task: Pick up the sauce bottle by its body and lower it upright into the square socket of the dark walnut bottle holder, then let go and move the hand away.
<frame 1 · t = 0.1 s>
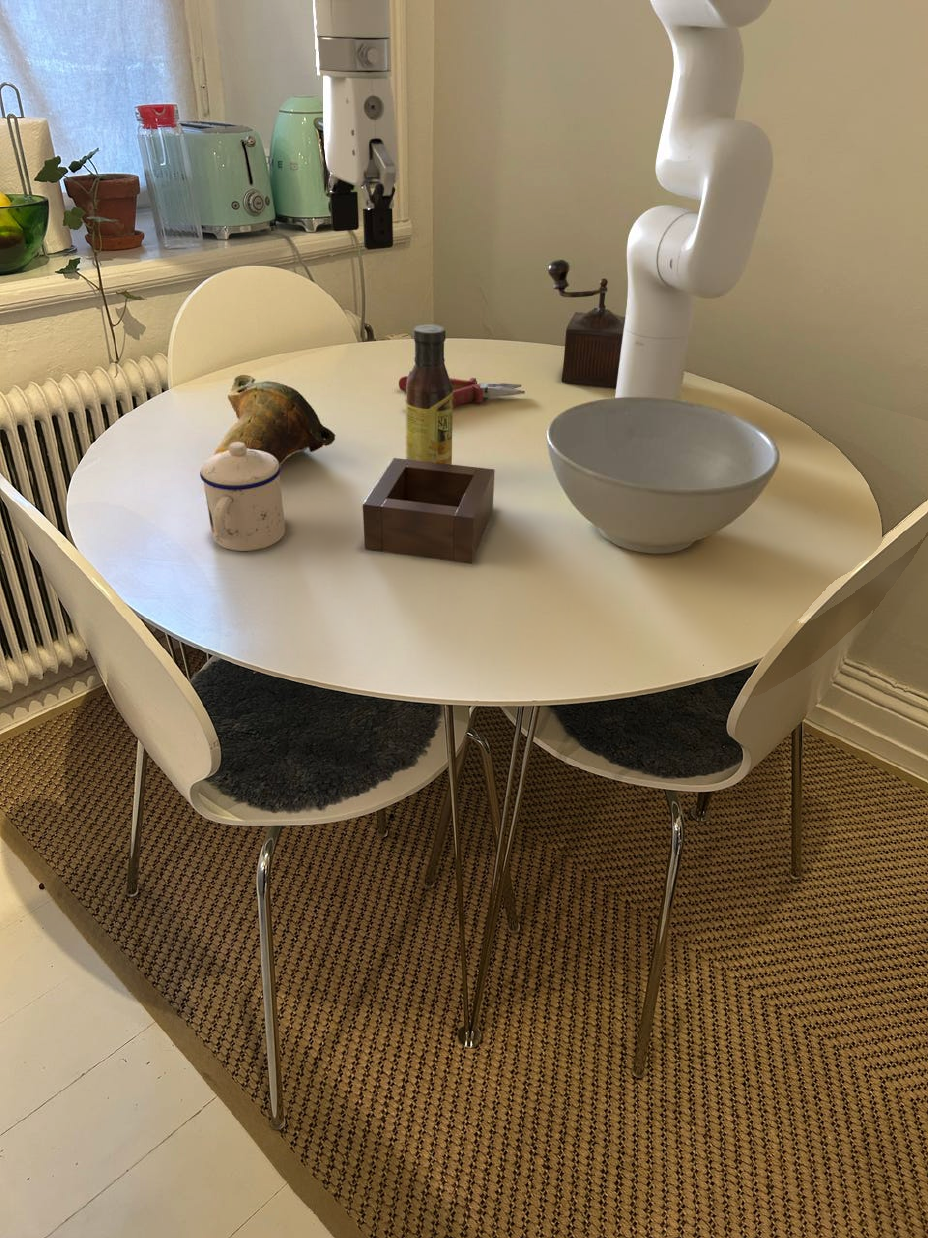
hand: (361, 238, 99), 31 cm above the table, tool pointing down, fingers open, 9 cm apart
holder: (431, 530, 108), on the table
teacup with lid: (245, 541, 105), on the table
sauce bottle: (429, 475, 120), on the table
pliers: (457, 403, 142), on the table
pepper mill: (579, 374, 155), on the table
pot: (269, 460, 123), on the table
decorative bowl: (646, 530, 109), on the table
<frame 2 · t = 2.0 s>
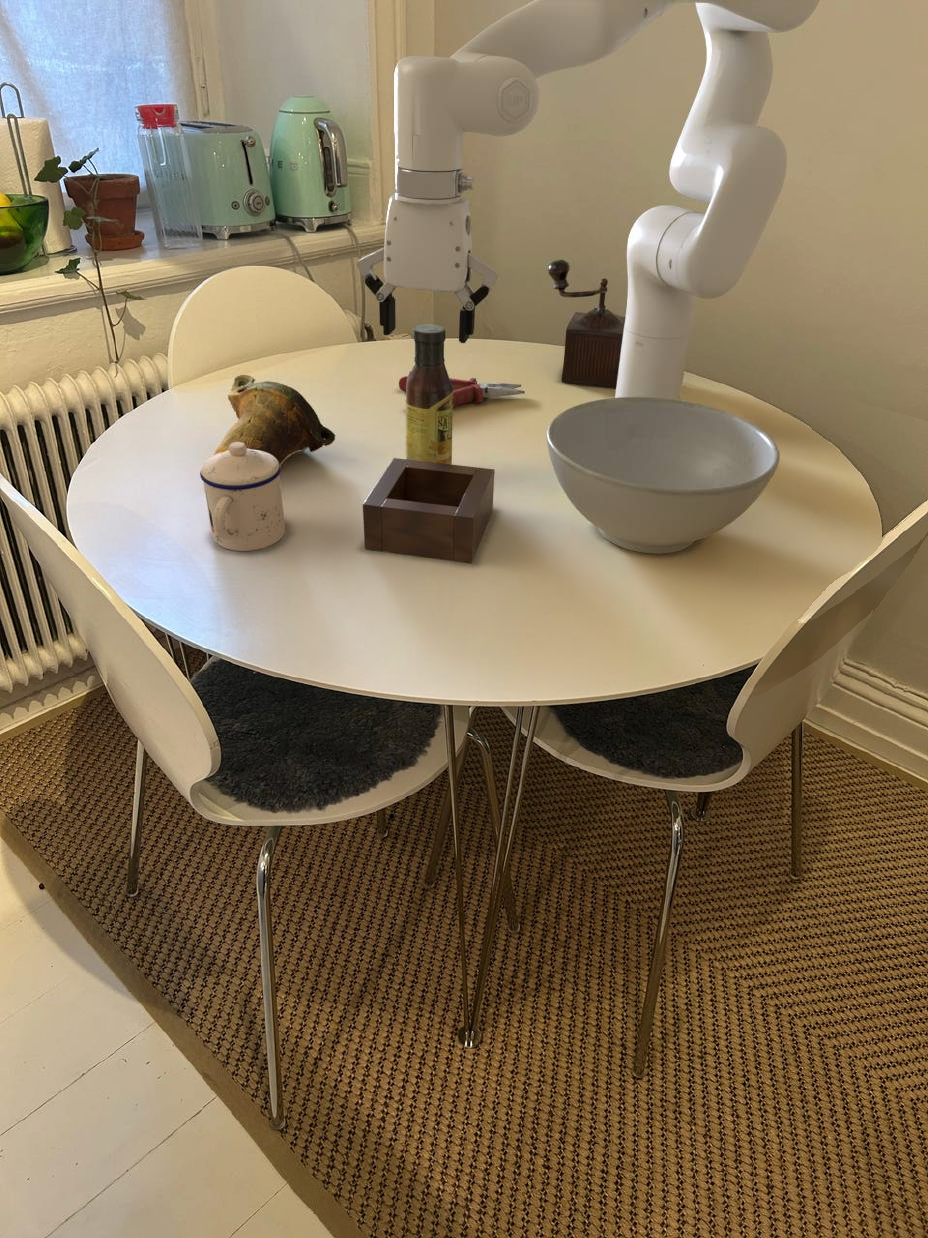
hand: (426, 335, 109), 19 cm above the table, tool pointing down, fingers open, 9 cm apart
nothing on the table moved.
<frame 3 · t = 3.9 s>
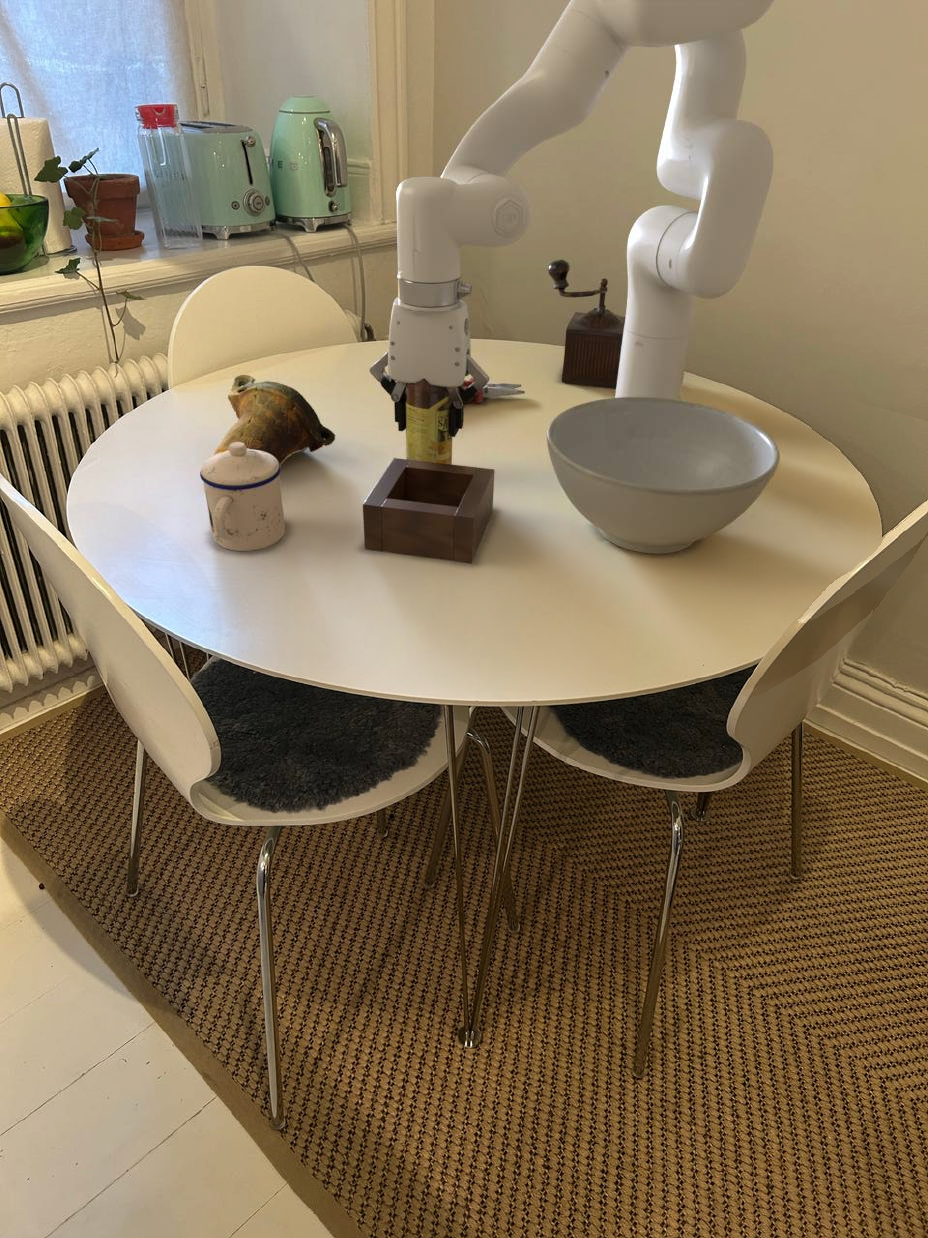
hand: (429, 429, 116), 7 cm above the table, tool pointing down, fingers closed on sauce bottle, 6 cm apart
sauce bottle: (429, 475, 120), on the table, touching gripper
everything else where it was.
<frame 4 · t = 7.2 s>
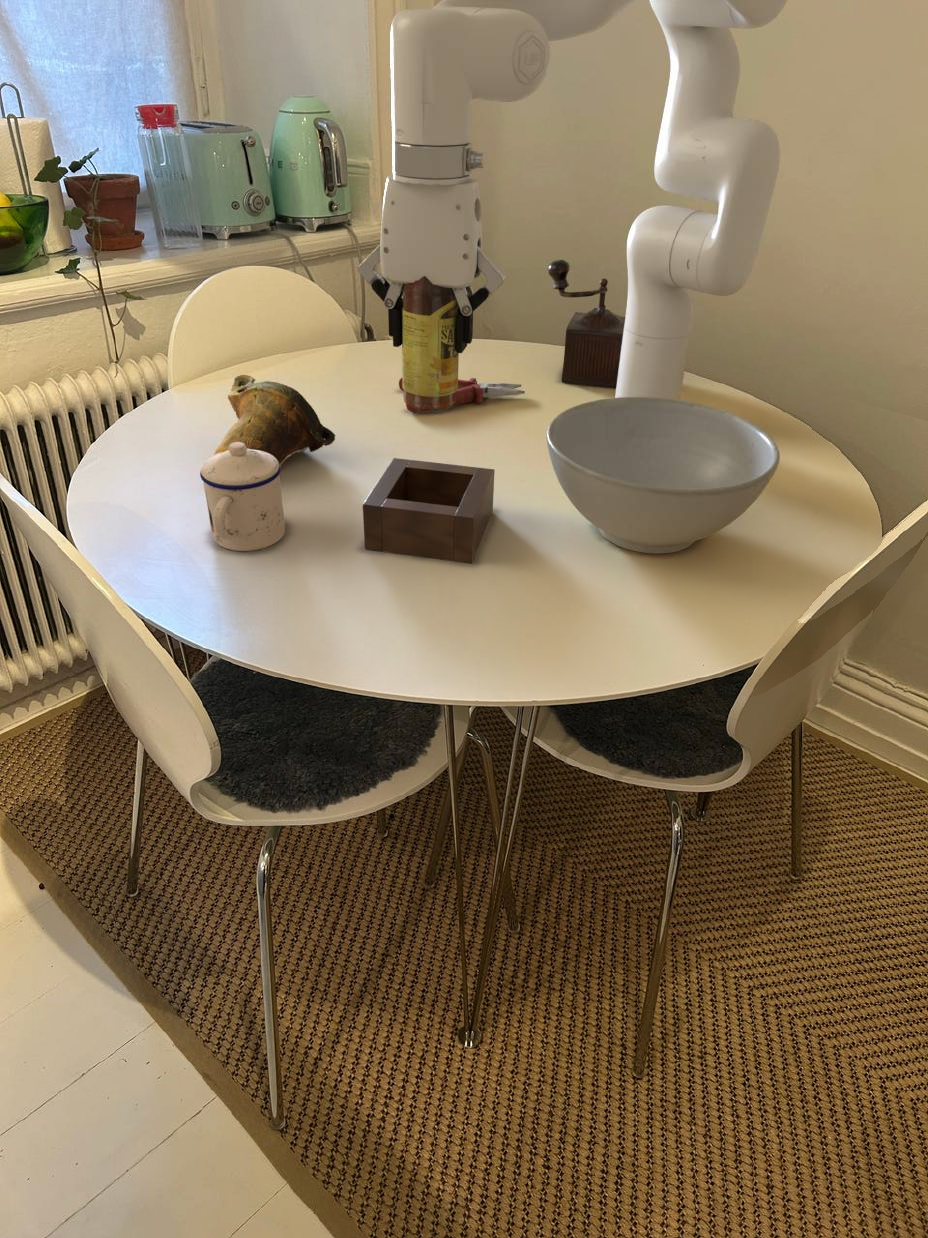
hand: (430, 344, 96), 23 cm above the table, tool pointing down, fingers closed on sauce bottle, 6 cm apart
sauce bottle: (430, 404, 99), point 16 cm above the table, touching gripper
everything else where it was.
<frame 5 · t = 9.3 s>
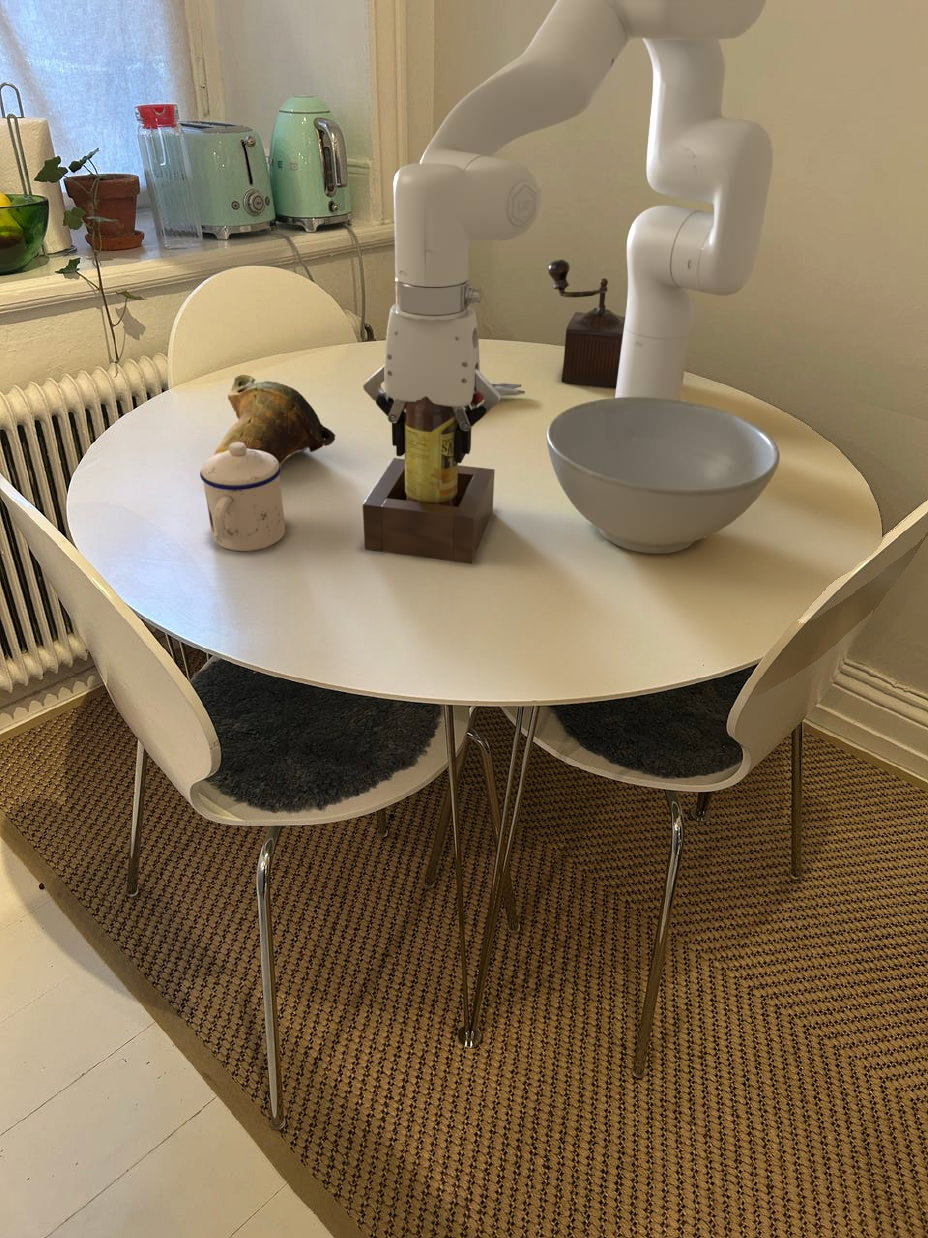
hand: (431, 453, 102), 10 cm above the table, tool pointing down, fingers closed on sauce bottle, 6 cm apart
sauce bottle: (431, 505, 106), point 3 cm above the table, touching gripper
everything else where it was.
when the fingers open (7 cm above the table, at t = 10.8 s): sauce bottle stays where it is, resting in holder.
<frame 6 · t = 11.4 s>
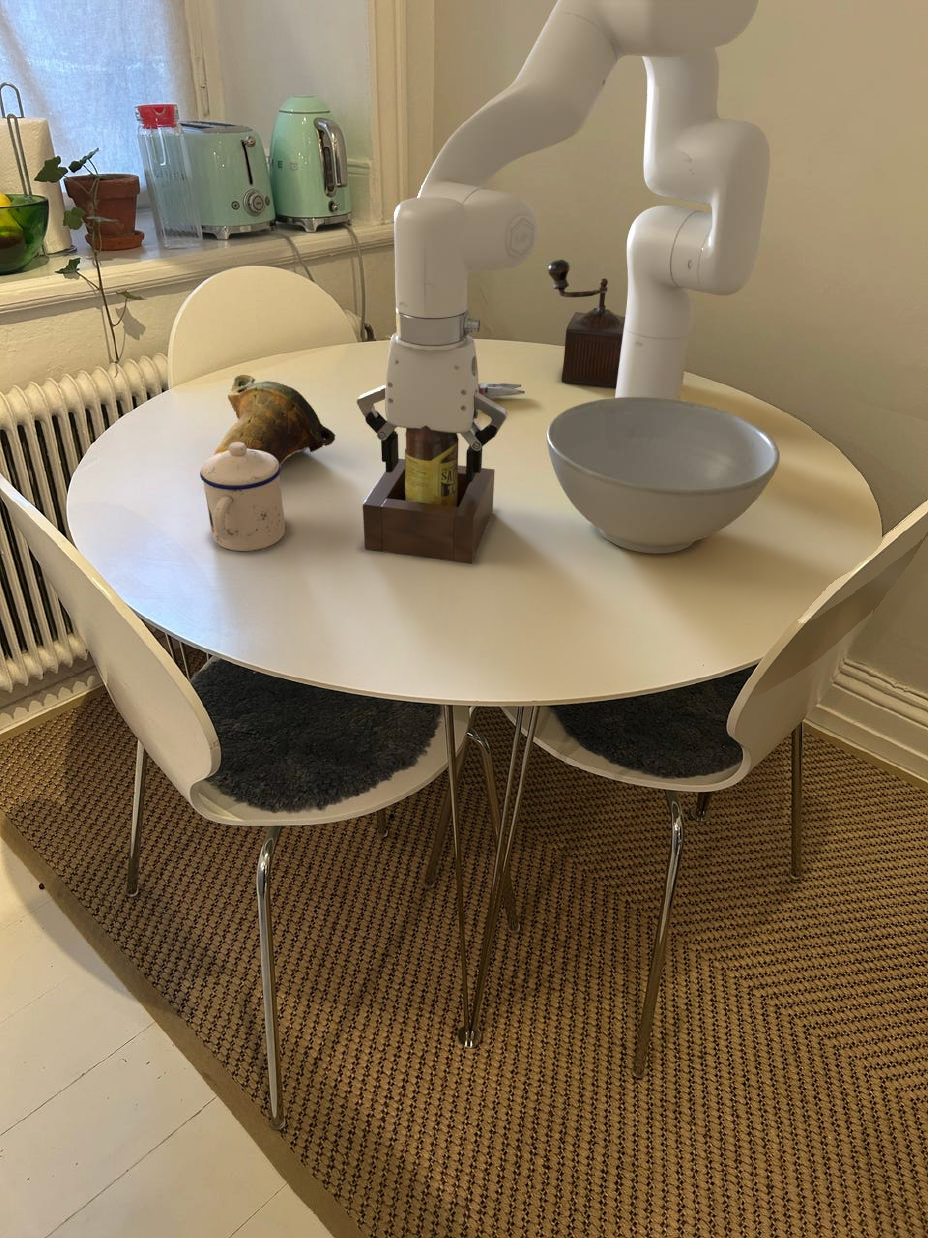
hand: (431, 472, 103), 8 cm above the table, tool pointing down, fingers open, 9 cm apart
sauce bottle: (431, 531, 108), resting in holder
everything else where it was.
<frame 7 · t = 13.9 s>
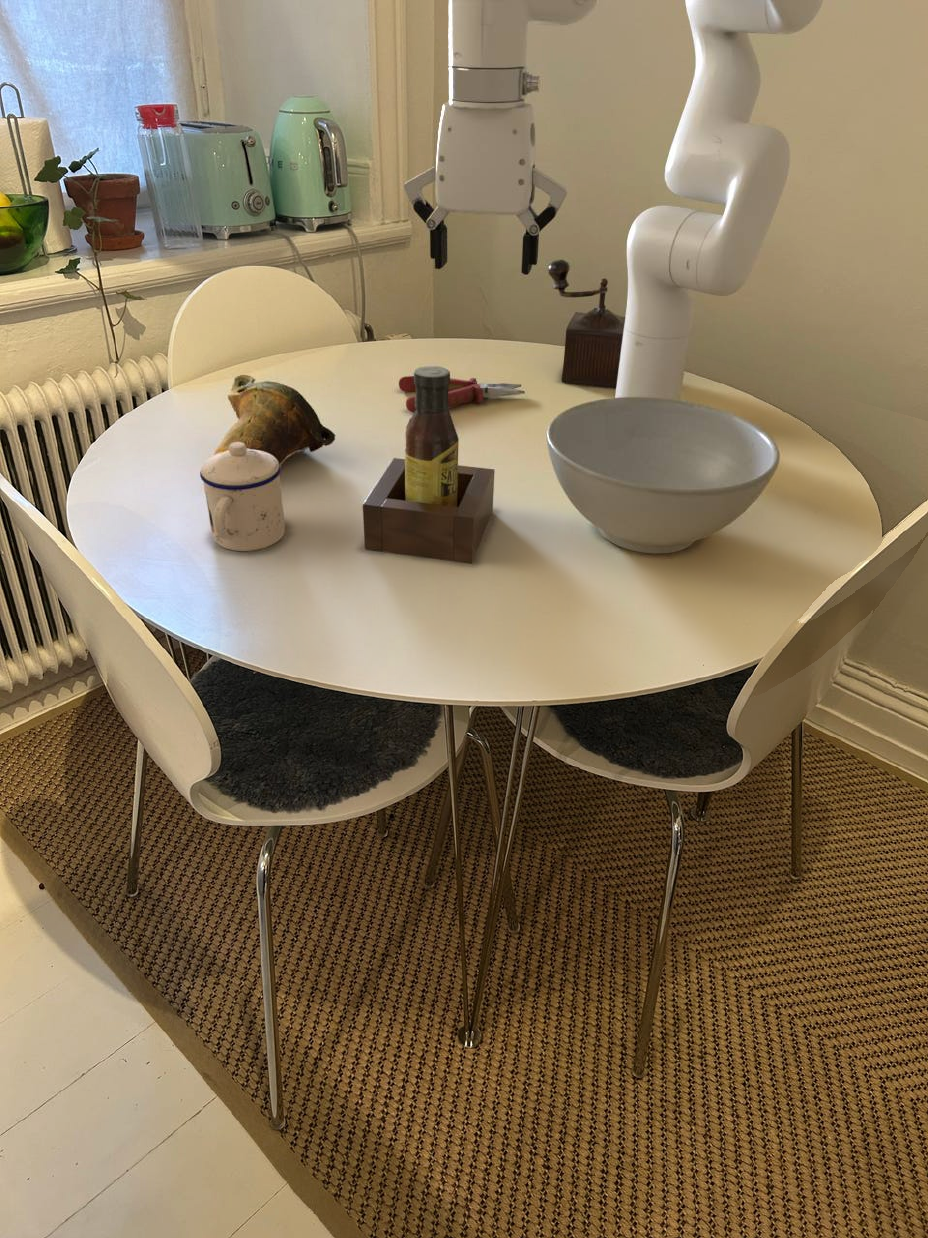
hand: (483, 268, 96), 29 cm above the table, tool pointing down, fingers open, 9 cm apart
nothing on the table moved.
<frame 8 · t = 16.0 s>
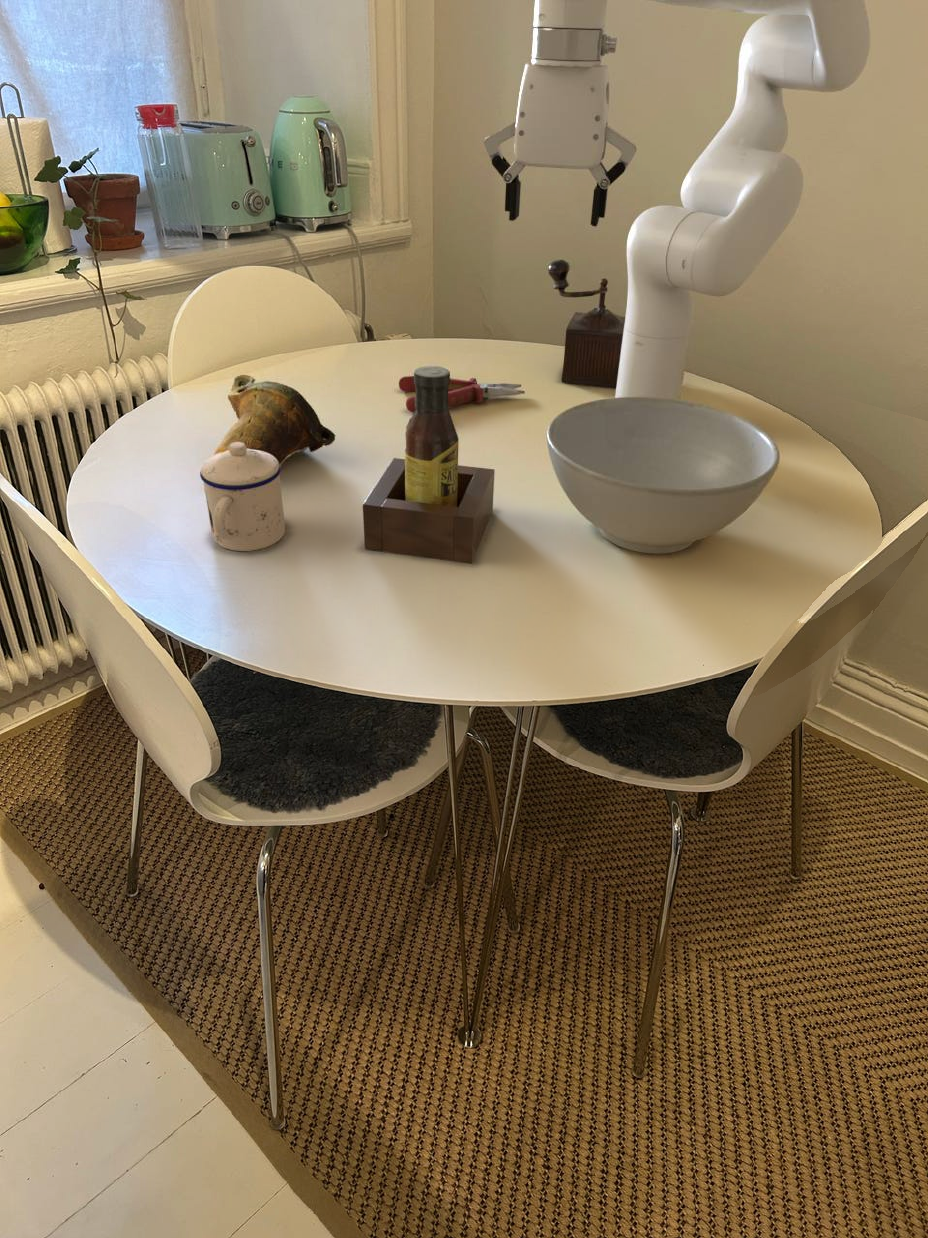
hand: (554, 221, 103), 32 cm above the table, tool pointing down, fingers open, 9 cm apart
nothing on the table moved.
at the end: sauce bottle 0.0 cm off-centre in the holder, point 0.0 cm above the holder's base; sauce bottle tilted 0°; the gripper is holding nothing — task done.
